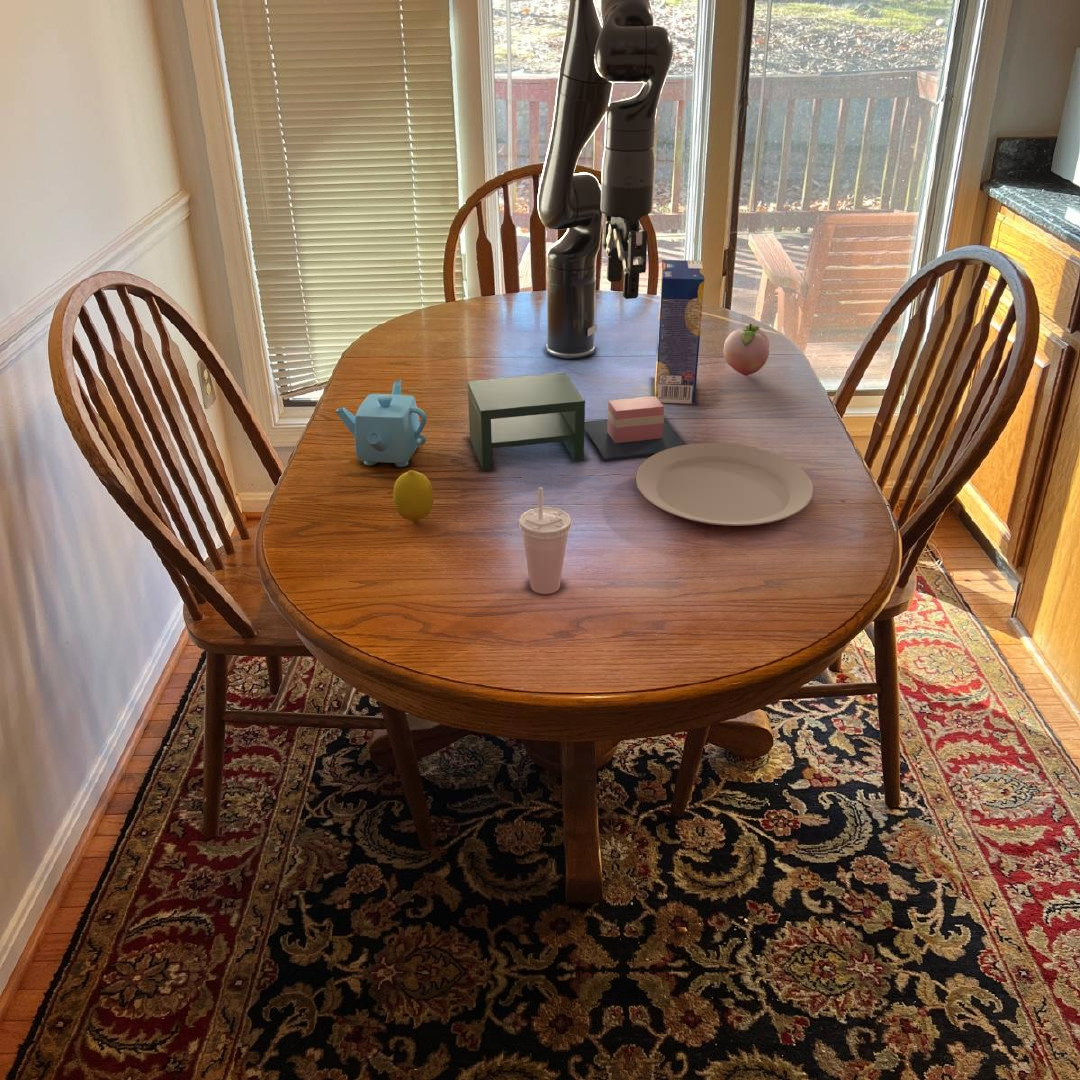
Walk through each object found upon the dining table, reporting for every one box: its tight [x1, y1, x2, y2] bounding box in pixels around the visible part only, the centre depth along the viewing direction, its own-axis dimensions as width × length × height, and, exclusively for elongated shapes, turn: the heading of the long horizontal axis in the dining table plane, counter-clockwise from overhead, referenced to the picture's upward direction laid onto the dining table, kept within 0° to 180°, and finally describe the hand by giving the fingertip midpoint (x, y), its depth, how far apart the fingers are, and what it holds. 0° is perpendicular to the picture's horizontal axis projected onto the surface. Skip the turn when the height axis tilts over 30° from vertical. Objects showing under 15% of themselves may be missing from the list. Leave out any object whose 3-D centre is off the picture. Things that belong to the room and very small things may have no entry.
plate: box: [635, 442, 814, 527], centre depth 148 cm, size 26×26×2 cm
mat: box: [584, 418, 686, 462], centre depth 165 cm, size 14×14×1 cm
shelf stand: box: [467, 371, 586, 472], centre depth 159 cm, size 12×16×10 cm
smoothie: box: [518, 486, 572, 595], centre depth 124 cm, size 6×6×14 cm
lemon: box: [392, 469, 435, 523], centre depth 139 cm, size 6×6×8 cm
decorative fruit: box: [722, 323, 770, 377], centre depth 185 cm, size 9×8×10 cm
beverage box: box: [654, 259, 706, 405], centre depth 176 cm, size 7×11×22 cm, turn 175°
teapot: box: [335, 379, 427, 468], centre depth 157 cm, size 18×14×10 cm
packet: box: [606, 395, 665, 443], centre depth 163 cm, size 4×8×6 cm, turn 103°
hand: (621, 289), depth 155 cm, fingers open, 8 cm apart
